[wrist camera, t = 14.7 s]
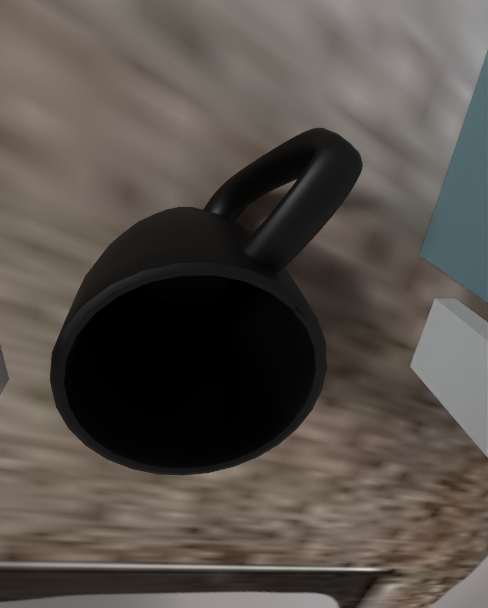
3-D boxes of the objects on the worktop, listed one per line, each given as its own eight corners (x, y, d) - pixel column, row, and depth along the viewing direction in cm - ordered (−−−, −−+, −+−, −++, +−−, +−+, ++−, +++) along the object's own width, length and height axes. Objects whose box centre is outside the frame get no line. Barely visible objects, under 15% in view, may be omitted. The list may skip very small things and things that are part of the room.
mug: (345, 174, 19) (477, 246, 11) (209, 349, 23) (230, 500, 15) (202, 55, 15) (238, 28, 7) (72, 284, 19) (0, 433, 11)
